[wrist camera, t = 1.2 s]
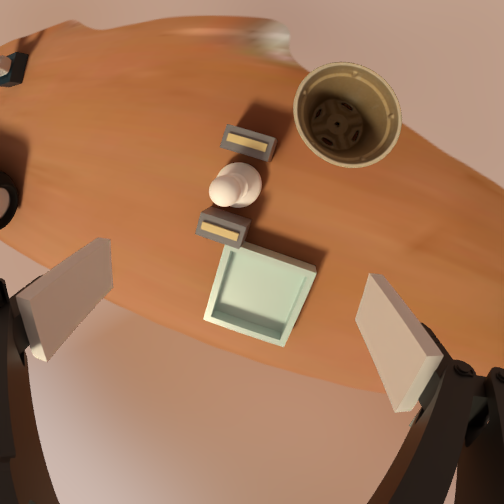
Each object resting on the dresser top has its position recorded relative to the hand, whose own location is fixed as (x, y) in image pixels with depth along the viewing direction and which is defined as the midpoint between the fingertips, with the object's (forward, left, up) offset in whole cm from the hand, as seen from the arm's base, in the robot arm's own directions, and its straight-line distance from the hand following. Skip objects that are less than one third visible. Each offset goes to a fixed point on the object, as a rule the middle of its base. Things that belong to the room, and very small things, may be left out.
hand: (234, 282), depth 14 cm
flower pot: (-4, -12, -21) cm, 24 cm away
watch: (+49, -12, -21) cm, 55 cm away
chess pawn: (+4, -2, -21) cm, 21 cm away
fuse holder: (+4, -2, -21) cm, 21 cm away
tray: (-2, +10, -21) cm, 23 cm away
